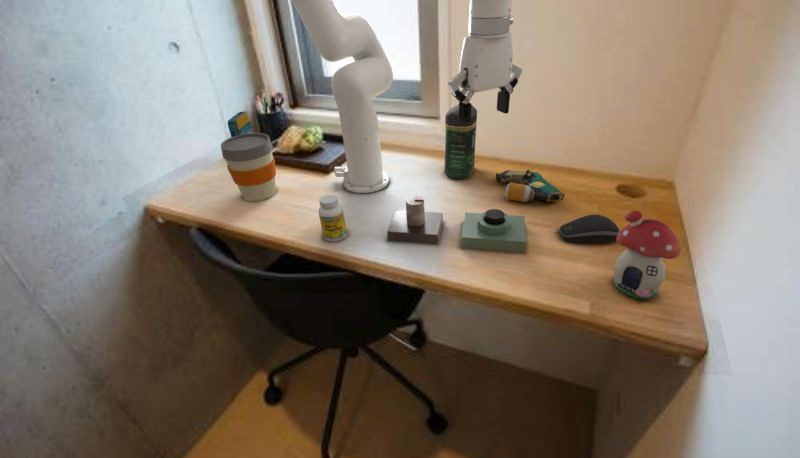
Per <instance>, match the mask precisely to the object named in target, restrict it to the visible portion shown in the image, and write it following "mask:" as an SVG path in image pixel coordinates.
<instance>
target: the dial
mask: <svg viewBox="0 0 800 458" xmlns="http://www.w3.org/2000/svg"><path fill="white" fill-rule="evenodd" d="M405 211H406V216H407V224H408V225H410V226H415V227H416V226H421V225H423V224H424V222H425V212H426V211H425V199H424V198H423V196H420V195H411V196H408V197H407V198H406V199H405Z"/></svg>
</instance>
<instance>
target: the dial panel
mask: <svg viewBox="0 0 800 458" xmlns="http://www.w3.org/2000/svg"><path fill="white" fill-rule="evenodd" d="M424 212H425V222H424V224H423V225H421V226H416V227H415V226H410V225H408V224H407V216H406V210H398V209H396V210H395V212H394V215H393V217H392V219H391V221H390V224H389V226H388V229H387V230H386V231H387V232H386V233H387V234H386V235H387V241H388V242H400V243H401V242H402V243H415V244H416V243H417V244H428V245H439V240H440V236H441V231H442V227H443V223H444V213H443V212H433V211H432V212H431V211H424Z"/></svg>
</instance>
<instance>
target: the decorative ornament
mask: <svg viewBox="0 0 800 458" xmlns="http://www.w3.org/2000/svg"><path fill="white" fill-rule="evenodd" d="M624 220H625V221H626V222H629V223H628V224H627V225H625V226H623V228H622V229H620V232H619V233H618V235H617V241H616V242H617V244H618V245H619V246H621V247H623V248H626V250H624V251H623V252H622V253H621V254H620V255H619V256H618V257H617V259H616V260H615V263H614V267H613V273H614V281H613V282H614V283H613V286H614V287H615V288H616V289H617V290H618V291H619V292H621V294H623V295H625V296H627V297H629V298H632V299H634V300H638V301H650V300H653V299H655V298H657V295H658V291H659V288H660V287H661V286H662V284H663V283H664V281H665V279H666V276H667V275H666V273H667V271H666V266H665V263H664V261H663V259H666V260H673V259H677V258H678V257H679V255H680V253H681V245H680V242H679V240H678V236H677V235H676V233H675V231H674V230H673V229H672V228H671V227H670V226H668V225H667V224H666V223H664V222H663V221H661V220H658V219H655V218H643V213H642V212H641V211H639V210H630V211H628V212H627V213H626V214H625V215H624Z"/></svg>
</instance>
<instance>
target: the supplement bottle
mask: <svg viewBox="0 0 800 458" xmlns="http://www.w3.org/2000/svg"><path fill="white" fill-rule="evenodd" d="M339 202H340V201H339V196H338V195H336V194H332V193H330V194H325V195H323V196H320V198H319V206H320V207H319V208H318V217H319V221H320V227H321V231H322V235H323V239H324V240H326V241H328V242H338V241H341V240H343V239H344V238H345V237H346V236H347V233H348V231H347V224H346V218H345V212H344V207H343V205H342V204H340V203H339Z"/></svg>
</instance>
